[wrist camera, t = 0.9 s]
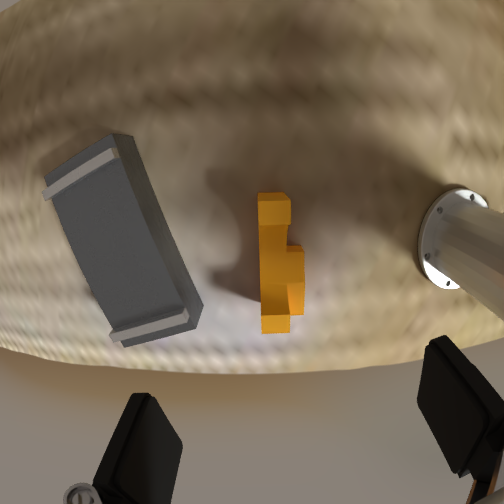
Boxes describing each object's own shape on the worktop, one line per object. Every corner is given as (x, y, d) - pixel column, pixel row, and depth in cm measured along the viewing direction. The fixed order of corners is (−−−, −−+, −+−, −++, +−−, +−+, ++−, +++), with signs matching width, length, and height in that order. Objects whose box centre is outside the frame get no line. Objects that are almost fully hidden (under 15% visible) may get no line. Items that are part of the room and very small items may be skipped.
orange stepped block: (299, 300, 33) (308, 331, 27) (260, 302, 33) (261, 333, 27) (300, 191, 29) (312, 200, 23) (257, 192, 29) (257, 201, 23)
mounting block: (132, 136, 27) (105, 132, 21) (203, 305, 33) (193, 335, 27) (70, 173, 28) (37, 178, 22) (138, 324, 34) (120, 353, 28)
